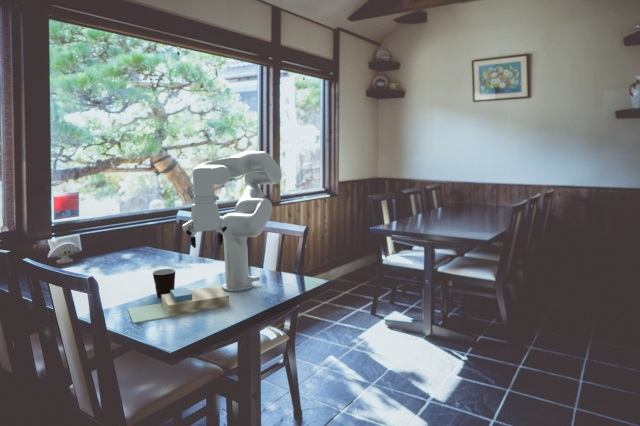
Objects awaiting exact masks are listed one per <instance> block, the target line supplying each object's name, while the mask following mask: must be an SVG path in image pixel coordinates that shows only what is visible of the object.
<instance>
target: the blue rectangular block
mask: <svg viewBox="0 0 640 426" xmlns="http://www.w3.org/2000/svg"><path fill="white" fill-rule="evenodd" d="M170 292H171V296H172V298H173V299H174V301H175V302H179V301H185V300H192V293H191V292H190V291H189V289H188V287H182V288H177V289H176V288H174V290H170Z"/></svg>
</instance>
